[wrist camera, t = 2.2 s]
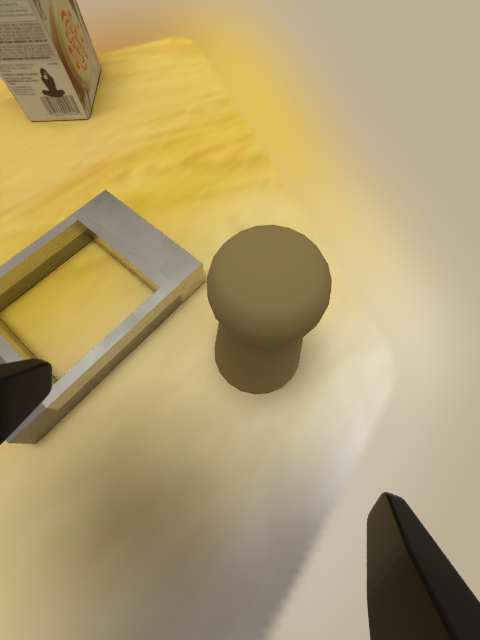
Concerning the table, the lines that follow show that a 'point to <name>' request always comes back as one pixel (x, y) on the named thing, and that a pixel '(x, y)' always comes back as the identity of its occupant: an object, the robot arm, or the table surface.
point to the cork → (265, 304)
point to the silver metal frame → (170, 291)
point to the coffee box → (48, 58)
